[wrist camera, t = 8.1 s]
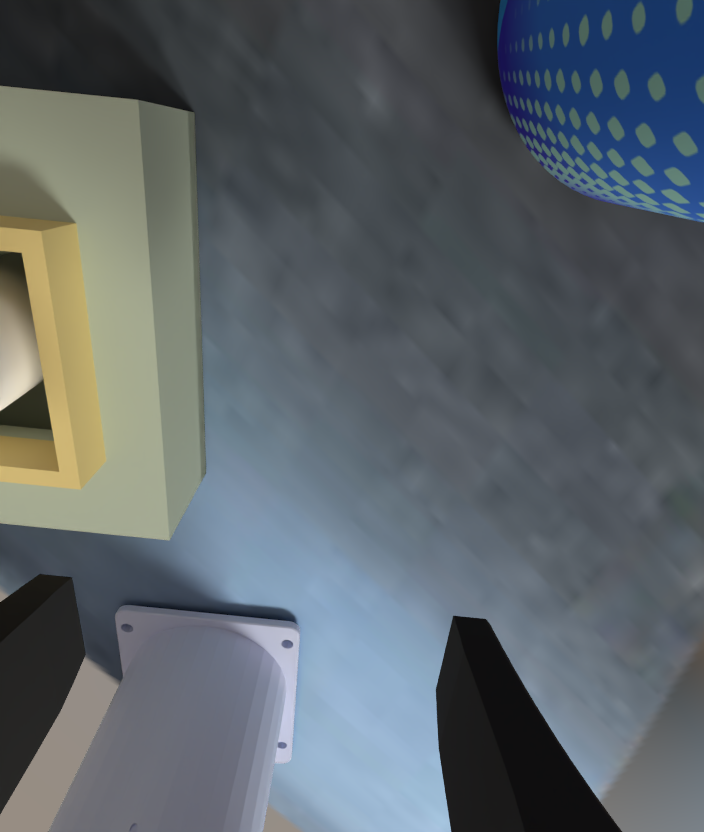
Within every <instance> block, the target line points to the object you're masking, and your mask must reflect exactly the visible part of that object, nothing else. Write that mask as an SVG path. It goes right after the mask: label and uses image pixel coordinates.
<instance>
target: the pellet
mask: <svg viewBox="0 0 704 832" xmlns="http://www.w3.org/2000/svg"><path fill="white" fill-rule="evenodd" d="M43 380H44V379H43V373H42V367H41V362H40V356H39V350H38V344H37V338H36V332H35V327H34V321H33V315H32V309H31V303H30V298H29V292H28V286H27V280H26V274H25V268H24V263H23V257H22V253H18V252H11V253H7V254H4V255H0V411H1V410H2V409H4V408H5V407H7V406H8V405H9V404H11V403H12V402H14V401H15V400H17V399H18V398H19V397H21V396H22V395H24V394H25V393H26V392H28V391H29V390H31V389H32V388H33V387H35V386H36V385H38V384H39V383H40V382H42V381H43Z"/></svg>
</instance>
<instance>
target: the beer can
mask: <svg viewBox="0 0 704 832" xmlns="http://www.w3.org/2000/svg"><path fill="white" fill-rule="evenodd" d="M497 50H498V66H499V73H500V79H501V85H502V89H503V93H504V97H505V102H506V105H507V107H508V110H509V113H510V116H511V119H512V121H513V123H514V125H515V127H516V129H517V131H518V133H519V135H520V137H521V138H522V140H523V142H524V143H525V145H526V147H527V148H528V149H529V151H530V152H531V153H532V155H533V156H534V157H535V159H536V160H537V161H538V162H539V163H540V164H541V165H542V166H543V167H544V168H545V169H546V170H547V171H548V172H549V173H550V174H551V175H553V176H554V177H555V178H556V179H558V180H559V181H560V182H562V183H563V184H565V185H566V186H568V187H570V188H571V189H573V190H575V191H577V192H579V193H581V194H583V195H586V196H588V197H591V198H594V199H597V200H600V201H605V202H609V203H613V204H618V205H623V206H628V207H632V208H637V209H642V210H647V211H652V212H656V213H661V214H666V215H671V216H675V217H680V218H685V219H690V220H695V221H699V222H704V0H501V1H500V9H499V18H498V36H497Z"/></svg>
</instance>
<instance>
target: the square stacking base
mask: <svg viewBox="0 0 704 832" xmlns="http://www.w3.org/2000/svg"><path fill="white" fill-rule="evenodd" d="M11 252H18V253H22V257H23V263H24V268H25V274H26V280H27V286H28V292H29V298H30V303H31V309H32V315H33V321H34V327H35V332H36V338H37V344H38V350H39V356H40V362H41V367H42V373H43V379H44V380H43V381H42V382H40V383H39V384H38V385H36V386H35V387H33V388H32V389H31V390H29V391H28V392H26V393H25V394H24V395H22V396H21V397H19V398H18V399H17V400H15V401H14V402H12V403H11V404H9V405H8V406H7V407H5V408H4V409H2V410H1V411H0V523H2V524H12V525H22V526H32V527H42V528H52V529H62V530H72V531H82V532H91V533H101V534H111V535H121V536H131V537H141V538H151V539H161V540H170V539H171V537H172V535H173V533H174V531H175V529H176V528H177V526H178V524H179V522H180V520H181V518H182V516H183V515H184V513H185V511H186V509H187V507H188V505H189V503H190V502H191V500H192V498H193V496H194V494H195V492H196V490H197V489H198V487H199V485H200V483H201V481H202V479H203V478H204V476H205V474H206V455H205V424H204V393H203V362H202V330H201V299H200V268H199V237H198V206H197V175H196V144H195V113H194V112H189V111H185V110H181V109H176V108H172V107H167V106H163V105H159V104H154V103H150V102H145V101H141V100H135V99H125V98H115V97H105V96H95V95H85V94H75V93H66V92H56V91H46V90H36V89H26V88H16V87H7V86H0V255H4V254H7V253H11Z"/></svg>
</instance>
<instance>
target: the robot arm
mask: <svg viewBox="0 0 704 832" xmlns="http://www.w3.org/2000/svg"><path fill="white" fill-rule="evenodd" d="M115 622H116V629H117V637H118V644H119V651H120V658H121V665H122V673H123V679H122V681H121V683H120V685H119V687H118V689H117V691H116V694H115V695H114V697H113V699H112V702H111V703H110V705H109V708H108V710H107V712H106V714H105V716H104V718H103V720H102V722H101V724H100V726H99V728H98V730H97V732H96V734H95V736H94V738H93V740H92V742H91V745H90V747H89V749H88V751H87V753H86V755H85V757H84V759H83V761H82V763H81V765H80V767H79V769H78V771H77V773H76V776H75V777H74V780H73V782H72V784H71V786H70V788H69V790H68V792H67V794H66V796H65V798H64V800H63V802H62V804H61V806H60V808H59V811H58V812H57V814H56V817H55V818H54V821H53V823H52V825H51V827H50V829H49V831H48V832H263V828H264V822H265V816H266V810H267V805H268V799H269V793H270V787H271V781H272V775H273V769H274V763H287V762H289V761H290V760H291V756H292V746H293V731H294V716H295V701H296V687H297V672H298V657H299V643H300V627H299V626H298V625H297V624H296V623H294V622H291V621H282V620H272V619H262V618H253V617H243V616H233V615H223V614H213V613H203V612H193V611H183V610H173V609H163V608H153V607H143V606H133V605H123V606H121V607H120V608H119V609H118V611H117V612H116V614H115ZM128 624H129V625H128ZM286 640H290V641H286ZM85 655H86V654H85V648H84V642H83V637H82V631H81V625H80V620H79V614H78V609H77V603H76V597H75V592H74V586H73V581H72V577H63V576H53V575H43V574H39V575H38V576H37V577H35V578H34V579H32V580H31V581H29V582H28V583H26V584H25V585H24V586H22V587H21V588H19V589H18V590H17V591H15V592H14V593H12V594H11V595H10V596H8V597H7V598H5V599H4V600H3V601H1V602H0V814H1V812H2V810H3V809H4V807H5V805H6V804H7V802H8V800H9V798H10V797H11V795H12V793H13V792H14V790H15V788H16V787H17V785H18V783H19V781H20V780H21V778H22V776H23V774H24V773H25V771H26V769H27V768H28V766H29V764H30V763H31V761H32V759H33V758H34V756H35V754H36V752H37V751H38V749H39V747H40V746H41V744H42V742H43V740H44V739H45V737H46V735H47V733H48V732H49V730H50V728H51V727H52V725H53V723H54V721H55V719H56V718H57V716H58V714H59V713H60V711H61V709H62V707H63V704H64V702H65V700H66V698H67V696H68V694H69V691H70V689H71V687H72V685H73V683H74V680H75V678H76V676H77V673H78V671H79V669H80V666H81V664H82V662H83V659H84V657H85ZM436 701H437V724H438V741H439V752H440V759H441V766H442V773H443V779H444V786H445V793H446V799H447V806H448V812H449V819H450V826H451V832H622V831H621V830H620V828H619V827H618V826H617V824H616V823H615V822H614V820H613V819H612V818H611V816H610V815H609V814H608V812H607V811H606V809H605V808H604V807H603V805H602V804H601V802H600V801H599V800H598V798H597V797H596V796H595V794H594V793H593V791H592V790H591V788H590V787H589V786H588V784H587V783H586V781H585V780H584V778H583V777H582V775H581V774H580V773H579V771H578V770H577V768H576V767H575V765H574V764H573V762H572V761H571V759H570V758H569V756H568V755H567V753H566V752H565V750H564V749H563V747H562V746H561V744H560V743H559V741H558V740H557V738H556V737H555V735H554V733H553V732H552V730H551V729H550V727H549V725H548V724H547V722H546V721H545V719H544V718H543V716H542V714H541V713H540V711H539V710H538V708H537V706H536V705H535V703H534V701H533V700H532V698H531V696H530V695H529V693H528V691H527V690H526V688H525V686H524V685H523V683H522V681H521V679H520V678H519V676H518V674H517V673H516V671H515V669H514V667H513V666H512V664H511V662H510V660H509V658H508V657H507V655H506V653H505V651H504V649H503V648H502V646H501V644H500V642H499V640H498V638H497V636H496V635H495V633H494V631H493V629H492V627H491V625H490V624H489V622H488V621H487V620H486V619H480V618H470V617H460V616H453V620H452V624H451V628H450V632H449V636H448V641H447V645H446V649H445V653H444V658H443V662H442V666H441V670H440V675H439V679H438V683H437V687H436Z"/></svg>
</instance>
